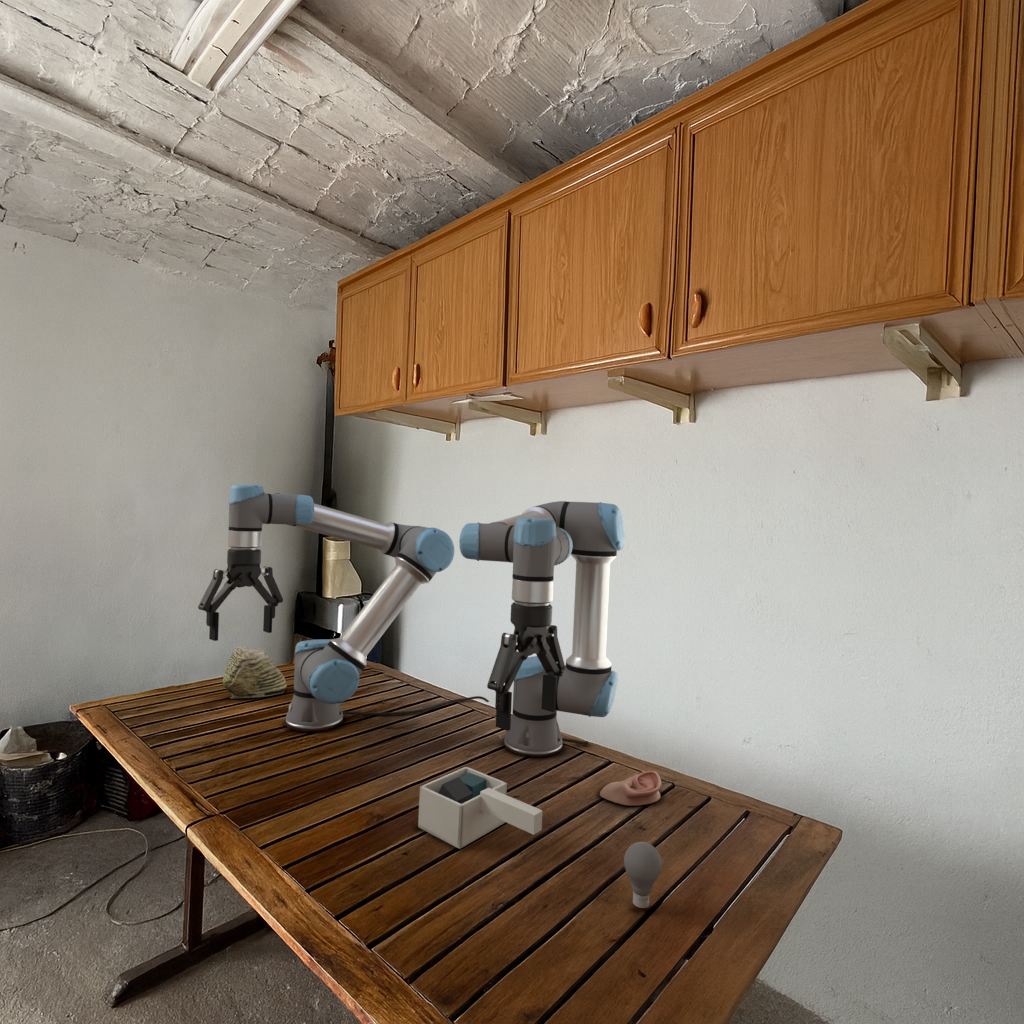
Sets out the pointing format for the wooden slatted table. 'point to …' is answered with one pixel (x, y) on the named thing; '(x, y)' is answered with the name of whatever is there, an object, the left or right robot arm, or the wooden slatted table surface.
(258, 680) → the fossil
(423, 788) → the handled box
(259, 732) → the wooden slatted table surface
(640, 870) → the light bulb
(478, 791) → the teal block
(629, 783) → the anatomical model
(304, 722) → the left robot arm
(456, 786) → the charcoal block
